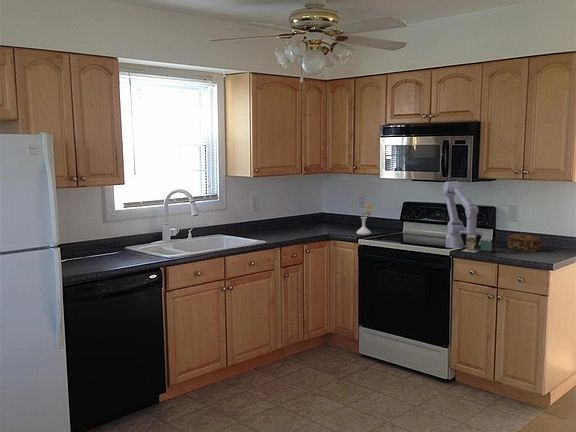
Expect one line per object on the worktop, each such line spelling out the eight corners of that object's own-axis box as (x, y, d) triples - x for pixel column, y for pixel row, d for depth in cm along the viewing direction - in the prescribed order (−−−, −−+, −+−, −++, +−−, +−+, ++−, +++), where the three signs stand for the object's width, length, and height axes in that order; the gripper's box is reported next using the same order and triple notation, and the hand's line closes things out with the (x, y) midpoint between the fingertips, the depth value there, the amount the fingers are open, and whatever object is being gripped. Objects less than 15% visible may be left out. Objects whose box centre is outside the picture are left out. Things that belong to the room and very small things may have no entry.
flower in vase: (359, 236, 422) (359, 203, 419) (354, 234, 433) (354, 202, 430) (375, 235, 425) (375, 203, 422) (369, 233, 436) (370, 201, 433)
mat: (461, 251, 354) (461, 250, 354) (466, 249, 361) (466, 248, 361) (475, 253, 348) (475, 252, 348) (480, 251, 355) (480, 250, 355)
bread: (506, 248, 365) (507, 233, 364) (514, 246, 372) (514, 232, 371) (535, 252, 351) (536, 236, 350) (542, 250, 359) (543, 235, 358)
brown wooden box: (466, 250, 355) (467, 238, 354) (468, 250, 357) (468, 237, 356) (473, 251, 352) (473, 238, 351) (474, 250, 354) (474, 238, 353)
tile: (480, 251, 355) (481, 240, 354) (481, 251, 356) (481, 240, 355) (490, 252, 351) (490, 241, 351) (490, 252, 352) (491, 241, 352)
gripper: (457, 224, 354) (457, 245, 355) (480, 226, 345) (480, 248, 347) (462, 223, 360) (461, 244, 361) (484, 225, 351) (483, 246, 352)
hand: (470, 246), depth 354 cm, fingers open, 7 cm apart
